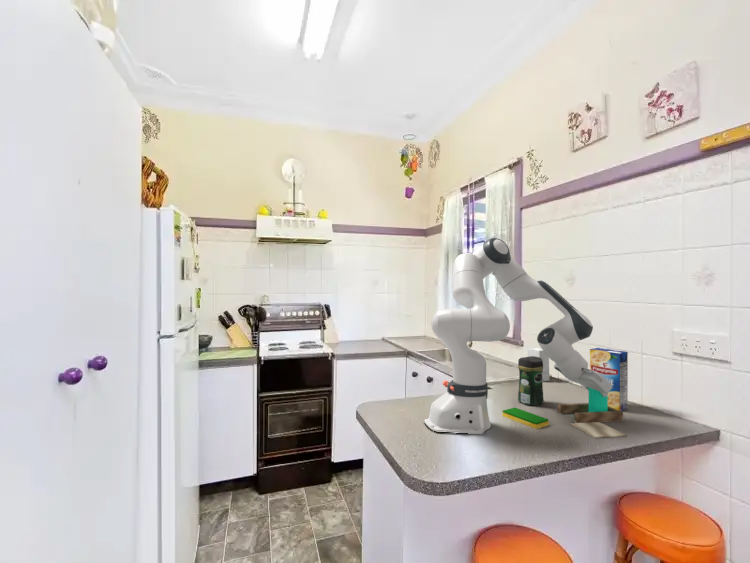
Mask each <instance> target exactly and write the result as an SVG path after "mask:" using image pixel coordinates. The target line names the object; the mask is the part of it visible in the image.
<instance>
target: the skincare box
mask: <svg viewBox="0 0 750 563" xmlns="http://www.w3.org/2000/svg"><path fill="white" fill-rule="evenodd" d="M530 356H535V357H540V358H541V359H542V361H543V371H542V383H544V382H549V381H551V380H550V358H549V357H548V356H547V355H546V353H545V352H544V351H543V350H542V348H541V347H532V348H531V347H530V348H527V357H530Z"/></svg>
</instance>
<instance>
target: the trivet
mask: <svg viewBox="0 0 750 563" xmlns="http://www.w3.org/2000/svg"><path fill="white" fill-rule="evenodd" d="M570 425H571V426H573V427H574V428H576V429H577V430H580V431H581V432H583V433H585V434H587V435H589V436H590V437H592V438H594V439H600V438H619V437H621V438H622V437H624V438H625V437H627V434H625V433H622V432H621V431H618V430H617V429H615V428H612V427H611V426H608V425H607V424H605V423H604V422H587V423H577V422H574V423H573V422H572V423H570Z"/></svg>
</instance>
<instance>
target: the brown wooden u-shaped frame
mask: <svg viewBox="0 0 750 563" xmlns="http://www.w3.org/2000/svg"><path fill="white" fill-rule="evenodd" d="M588 405H589V402H586V403H585V402H581V403H557V413H559V414H560V415H562V414H574V423H591V422H601V423H605V422H608V423H609V422H624V412H623V411H619V410H616V409H614V408H611V407H609V406H608V411H605V412H588Z"/></svg>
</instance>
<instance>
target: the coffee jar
mask: <svg viewBox="0 0 750 563" xmlns="http://www.w3.org/2000/svg"><path fill="white" fill-rule="evenodd" d="M517 365H518V371H519V378H518V395H517V396H518V397H517V400H518V402H520V403H521V404H522V405H528V406H537V405H542V404H543V403H544V389H543V382H542V371H543V361H542V359H541V358H540V357H535V356H530V357H528V356H525V357H520V358H519V359H518V364H517Z"/></svg>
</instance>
